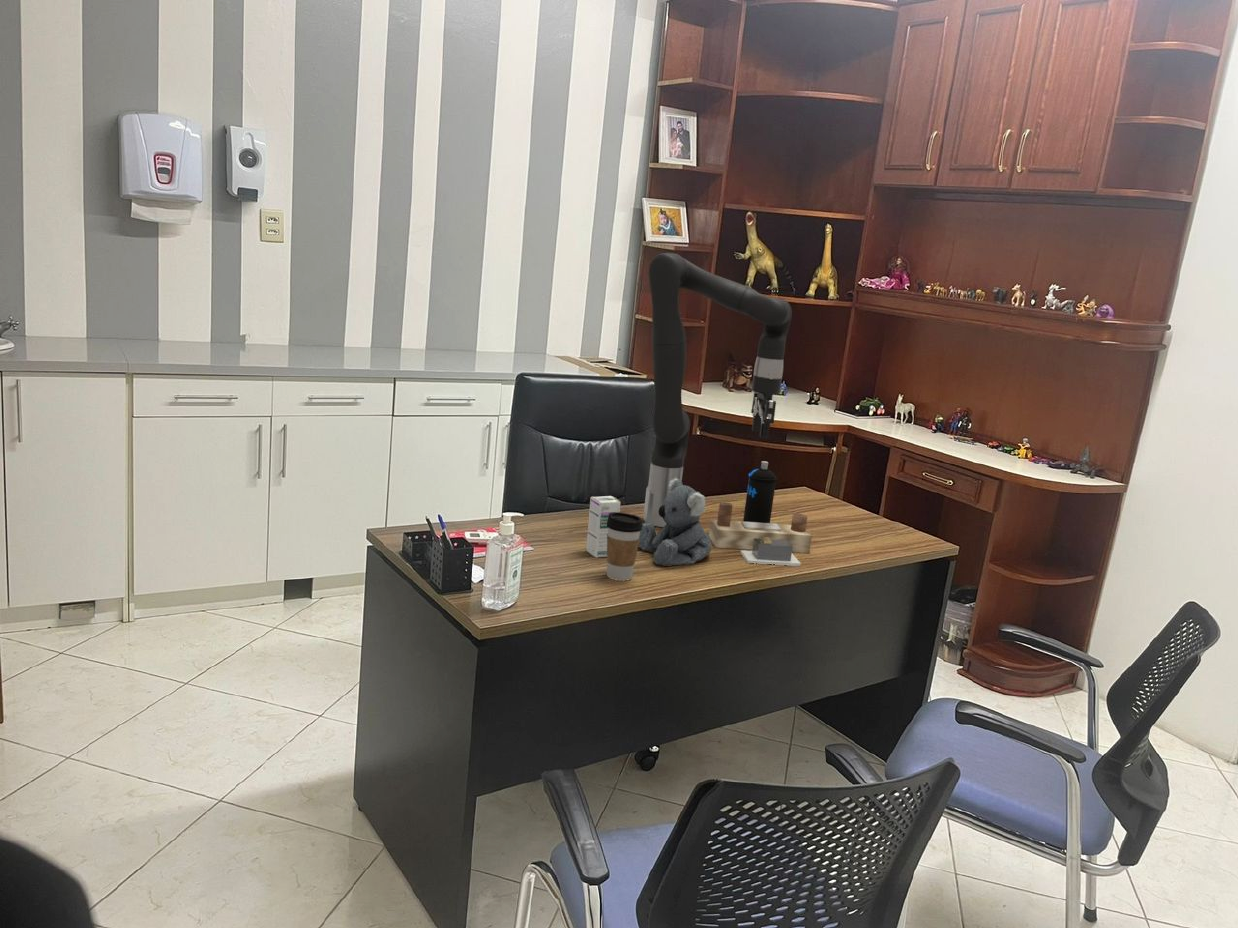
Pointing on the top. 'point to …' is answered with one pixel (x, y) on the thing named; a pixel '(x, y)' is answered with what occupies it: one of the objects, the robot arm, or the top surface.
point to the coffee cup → (622, 544)
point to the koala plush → (678, 528)
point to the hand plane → (757, 531)
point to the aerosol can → (760, 495)
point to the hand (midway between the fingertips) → (759, 434)
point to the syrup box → (600, 524)
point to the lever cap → (772, 549)
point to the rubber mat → (752, 559)
